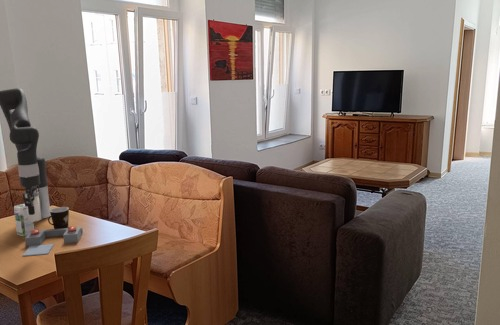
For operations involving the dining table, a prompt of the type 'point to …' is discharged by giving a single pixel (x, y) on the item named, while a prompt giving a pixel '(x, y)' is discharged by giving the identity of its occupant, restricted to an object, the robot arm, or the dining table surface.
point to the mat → (38, 250)
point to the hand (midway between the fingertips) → (33, 212)
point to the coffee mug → (59, 217)
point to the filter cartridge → (37, 209)
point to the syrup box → (22, 220)
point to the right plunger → (71, 229)
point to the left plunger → (34, 232)
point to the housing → (54, 232)
